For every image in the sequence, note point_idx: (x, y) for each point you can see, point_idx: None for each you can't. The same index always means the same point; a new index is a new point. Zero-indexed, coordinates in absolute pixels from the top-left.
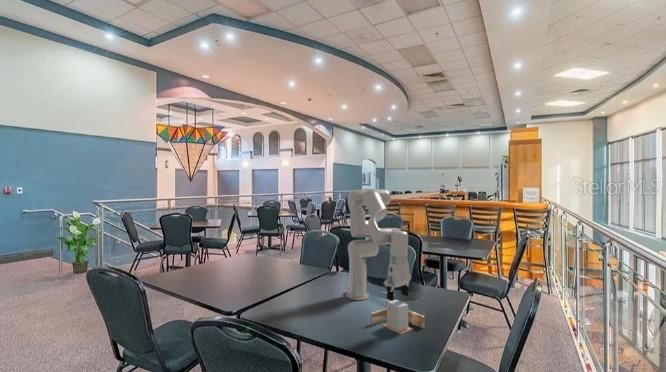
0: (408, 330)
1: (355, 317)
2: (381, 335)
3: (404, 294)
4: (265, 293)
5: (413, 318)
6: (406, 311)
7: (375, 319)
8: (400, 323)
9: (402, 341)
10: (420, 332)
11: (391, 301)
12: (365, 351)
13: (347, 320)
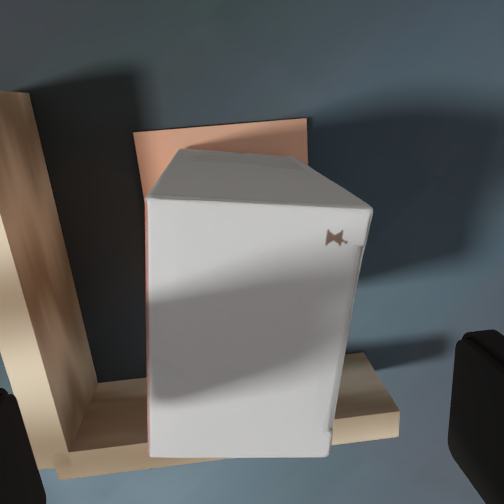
0: (197, 127)
1: (367, 493)
2: (447, 191)
3: (21, 455)
4: None
5: (32, 216)
6: (199, 175)
7: (350, 378)
8: (288, 162)
9: (399, 3)
10: (115, 37)
11: (280, 432)
12: None
13: (443, 479)
